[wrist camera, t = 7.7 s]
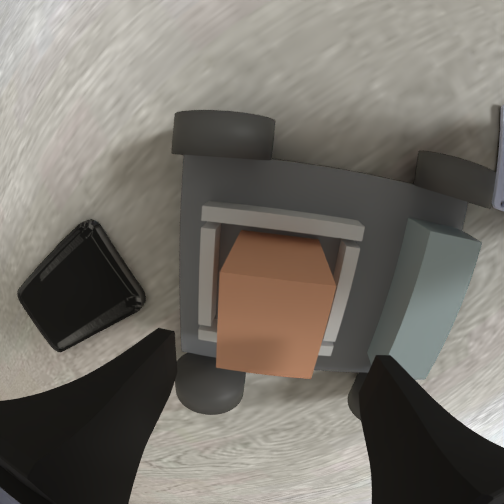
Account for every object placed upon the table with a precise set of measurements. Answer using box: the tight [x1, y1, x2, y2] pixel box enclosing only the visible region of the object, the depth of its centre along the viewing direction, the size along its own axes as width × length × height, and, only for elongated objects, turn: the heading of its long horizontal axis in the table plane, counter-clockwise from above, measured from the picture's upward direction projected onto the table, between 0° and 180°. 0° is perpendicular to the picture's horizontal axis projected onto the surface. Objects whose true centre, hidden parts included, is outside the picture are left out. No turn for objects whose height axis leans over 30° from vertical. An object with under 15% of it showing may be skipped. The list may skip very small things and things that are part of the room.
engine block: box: [216, 230, 336, 379], centre depth 15 cm, size 4×5×6 cm
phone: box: [17, 219, 146, 352], centre depth 21 cm, size 8×1×15 cm
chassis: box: [171, 110, 496, 420], centre depth 16 cm, size 18×18×5 cm
